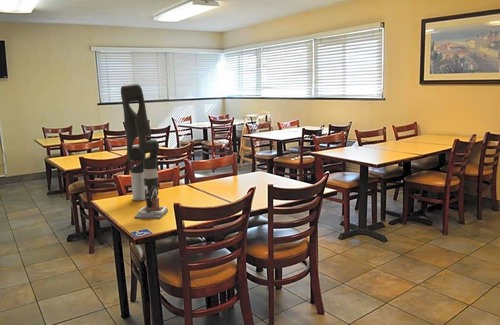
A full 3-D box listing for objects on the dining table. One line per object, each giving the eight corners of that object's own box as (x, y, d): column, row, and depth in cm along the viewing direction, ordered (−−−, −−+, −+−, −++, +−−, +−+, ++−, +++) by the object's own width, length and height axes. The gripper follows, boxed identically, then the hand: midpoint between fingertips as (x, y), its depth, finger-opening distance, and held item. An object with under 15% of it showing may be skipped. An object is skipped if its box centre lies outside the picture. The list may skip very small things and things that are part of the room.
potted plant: (144, 211, 234) (143, 193, 232) (148, 209, 237) (146, 192, 235) (157, 212, 232) (156, 194, 230) (161, 210, 235) (160, 193, 233)
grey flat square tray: (143, 210, 239) (143, 205, 239) (168, 211, 238) (167, 205, 237) (134, 218, 226) (134, 212, 225) (160, 218, 224) (159, 213, 223)
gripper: (148, 173, 237) (150, 201, 240) (139, 179, 223) (141, 209, 226) (161, 173, 237) (163, 201, 240) (153, 179, 223) (154, 209, 226)
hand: (152, 205), depth 233 cm, fingers open, 8 cm apart
